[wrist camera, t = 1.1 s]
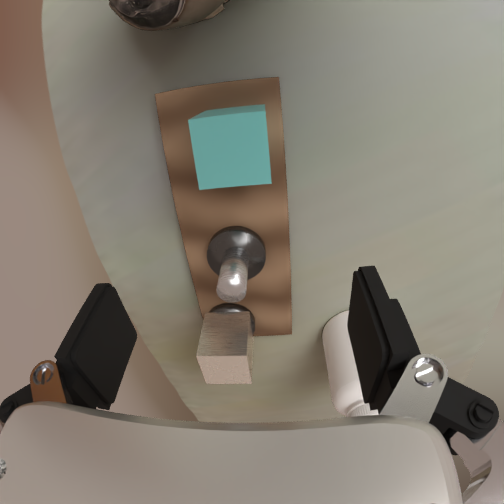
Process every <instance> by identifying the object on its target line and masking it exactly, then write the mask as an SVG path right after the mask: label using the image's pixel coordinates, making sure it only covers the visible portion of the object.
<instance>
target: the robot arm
mask: <svg viewBox="0 0 504 504" xmlns="http://www.w3.org/2000/svg"><path fill="white" fill-rule="evenodd" d="M347 328H348V333H349V338H350V342H351V346H352V350H353V354H354V359H355V363H356V367H357V372H358V377H359V381H360V386H361V391H362V396H363V400H364V403H365V404H367V403H369V406H370V411H372V410H377V409H378V414H379V415H367V416H356V417H343V418H334V419H324V420H311V421H296V422H277V423H211V422H192V421H178V420H167V419H157V418H148V417H141V416H133V415H126V414H120V413H114V412H108V411H102V410H97V409H96V407H98V408H101V409H106V410H109V409H110V406H111V404H112V403H114V401H115V398H116V395H117V392H118V389H119V386H120V384H121V380H122V378H123V375H124V372H125V369H126V366H127V364H128V361H129V358H130V355H131V353H132V350H133V347H134V345H135V342H136V339H137V333H136V330H135V328H134V326H133V324H132V323H131V321H130V318H129V316H128V314H127V312H126V310H125V308H124V306H123V304H122V302H121V300H120V298H119V295H118V293H117V291H116V289H115V288H114V287H112V285H111V284H109V283H100V284H96V285H95V286H94V288H93V290H92V291H91V293H90V295H89V296H88V298H87V299H86V301H85V303H84V304H83V306H82V308H81V309H80V311H79V313H78V315H77V316H76V318H75V320H74V322H73V323H72V325H71V327H70V329H69V330H68V332H67V334H66V336H65V338H64V339H63V341H62V343H61V345H60V347H59V349H58V351H57V353H56V354H55V358H56V359H57V361H56V363H54V362H53V361H51V360H45V361H42V362H40V363H39V364H37V365H36V366H35V368H34V369H33V370H32V372H31V375H30V384H29V385H27V386H25V387H24V388H22V389H20V390H19V391H17V392H15V393H14V394H12V395H11V396H9V397H8V398H6V399H5V400H4V401H3V402H2V403H1V406H0V504H504V421H503V422H502V421H501V420H500V419H499V411H498V408H497V406H496V404H495V403H494V401H493V400H491V399H490V398H488V397H486V396H484V395H482V394H480V393H478V392H476V391H474V390H472V389H470V388H468V387H466V386H464V385H462V384H460V383H458V382H456V381H455V380H453V379H451V378H449V377H448V370H447V367H446V365H445V363H444V362H443V361H442V360H441V359H440V358H438V357H437V356H435V355H431V354H421V353H420V350H419V348H418V345H417V343H416V341H415V338H414V336H413V333H412V331H411V329H410V326H409V324H408V321H407V319H406V317H405V315H404V312H403V310H402V308H401V306H400V303H399V302H398V300H397V299H389V296H388V294H387V292H386V290H385V287H384V285H383V283H382V281H381V279H380V276H379V274H378V272H377V270H376V268H375V266H364V267H359V269H358V271H354V273H353V282H352V291H351V299H350V307H349V314H348V322H347ZM451 454H452V455H460V457H461V458H462V459H463V460H464V461H465V462H464V465H465V466H466V467H467V468H468V469H469V471H470V473H471V481H470V485H469V486H468V488H467V490H466V491H465V492H464V493H463V494H462V495H461V490H460V485H459V480H458V476H457V471H456V468H455V464H454V461H453V458H452V455H451Z"/></svg>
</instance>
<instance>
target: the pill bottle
mask: <svg viewBox="0 0 504 504" xmlns="http://www.w3.org/2000/svg"><path fill="white" fill-rule="evenodd" d="M348 314H349V310H348V311H344V312H341V313H339V314H337V315H336V316H334V317H333V318H331V319H330V320H329V321H328V322H327V324H326V325H325V327H324V329H323V333H322V340H323V346H324V352H325V358H326V365H327V371H328V377H329V384H330V391H331V398H332V403H333V405H334V407H335V409H336V410H337V411H338V412H339V413H341V414H343V415H346V417H356V416H367V415H379V414H378V409H377V410H372V411H370V406H369V403H367V404H365V403H364V400H363V396H362V391H361V386H360V381H359V377H358V372H357V367H356V363H355V359H354V354H353V350H352V346H351V342H350V338H349V333H348V328H347V322H348Z"/></svg>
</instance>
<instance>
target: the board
mask: <svg viewBox="0 0 504 504" xmlns="http://www.w3.org/2000/svg"><path fill="white" fill-rule="evenodd" d="M155 99H156V105H157V111H158V118H159V124H160V130H161V135H162V141H163V147H164V152H165V157H166V163H167V168H168V173H169V178H170V183H171V188H172V193H173V198H174V202H175V207H176V212H177V216H178V221H179V225H180V230H181V234H182V238H183V243H184V247H185V251H186V255H187V259H188V263H189V267H190V271H191V275H192V279H193V283H194V287H195V291H196V295H197V298H198V302H199V306H200V310H201V313H202V317H203V320H204V317H205V313H209V311H210V310H211V309H212V308H213V307H215V306H216V305H219V304H222V303H229V302H226V301H223V300H222V299H220V298H219V296H218V295H217V292H216V289H217V284H218V279H219V276H218V275H217V274H216V273H215V272H214V271H213V270H212V269H211V268H210V266H209V264H208V261H207V249H208V246H209V243H210V240H211V238H212V237H213V235H214V234H215V233H216V232H218V231H219V230H221V229H223V228H225V227H229V226H243V227H246V228H249V229H251V230H253V231H254V232H256V233H257V234H258V235H259V236H260V237H261V239H262V240H263V242H264V244H265V249H266V261H265V265H264V267H263V269H262V270H261V272H260V273H259V274H258V275H256V276H255V277H253V278H251V279H249V280H247V289H246V296H245V297H244V299H242V300H241V301H239V302H236V304H239V305H242V306H244V307H246V308H247V309H249V310H250V311H251V312H252V313H253V315H254V317H255V331H254V334H253V336H268V335H286V334H292V309H291V270H290V241H289V218H288V198H287V180H286V164H285V149H284V134H283V121H282V109H281V97H280V85H279V77H272V78H258V79H247V80H237V81H228V82H220V83H213V84H206V85H200V86H194V87H188V88H182V89H177V90H172V91H167V92H162V93H157V94H155ZM262 104H265V111H266V122H267V134H268V145H269V157H270V169H271V182H272V184H260V185H247V186H235V187H224V188H214V189H204V190H199V185H198V179H197V173H196V167H195V161H194V155H193V149H192V142H191V136H190V129H189V123H188V120H189V119H191V118H193V117H194V116H196V115H198V114H200V113H202V112H204V111H207V110H214V109H222V108H230V107H240V106H250V105H262Z"/></svg>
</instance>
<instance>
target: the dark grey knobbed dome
mask: <svg viewBox="0 0 504 504" xmlns="http://www.w3.org/2000/svg"><path fill="white" fill-rule="evenodd" d="M207 261H208V264H209V266H210V268H211V269H212V270H213V271H214V272H215V273H216V274H217V275H218V276H219V279H218V284H217V289H216V292H217V295H218V296H219V298H220V299H222V300H223V301H226V302H229V303H236V302H239V301H241V300H242V299H244V297H245V296H246V289H247V280H249V279H251V278H253V277H255V276H256V275H258V274H259V273H260V272H261V270H262V269H263V267H264V265H265V261H266V249H265V244H264V242H263V240H262V239H261V237H260V236H259V235H258V234H257V233H256V232H254V231H253V230H251V229H249V228H246V227H243V226H229V227H225V228H223V229H221V230H219V231H218V232H216V233H215V234H214V235H213V237H212V238H211V240H210V243H209V246H208V249H207Z"/></svg>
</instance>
